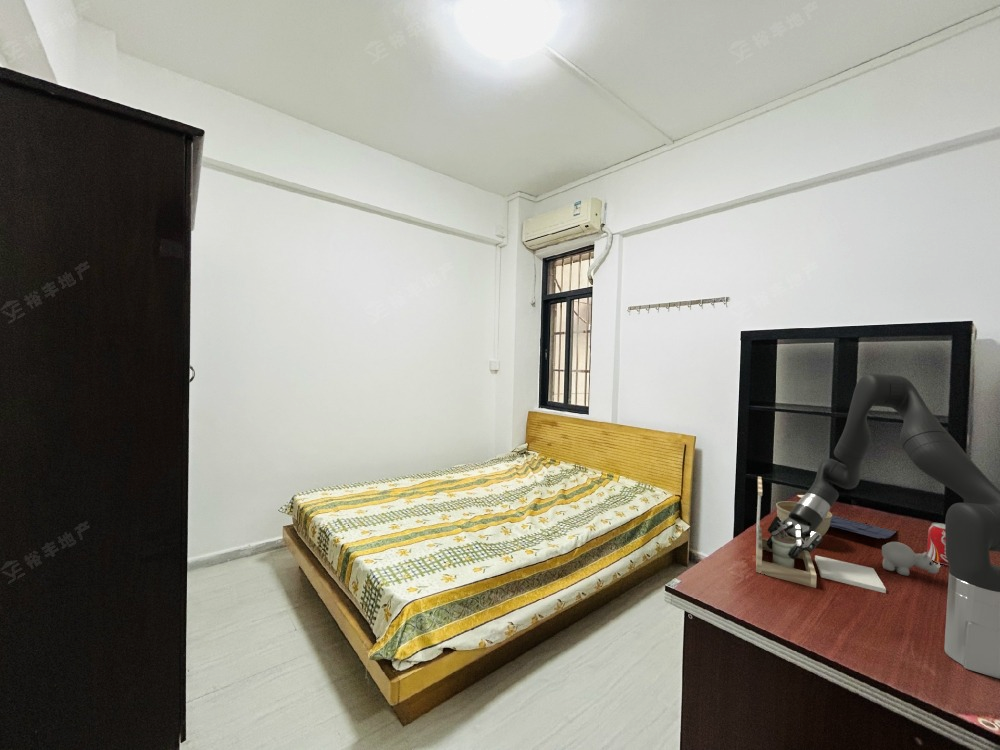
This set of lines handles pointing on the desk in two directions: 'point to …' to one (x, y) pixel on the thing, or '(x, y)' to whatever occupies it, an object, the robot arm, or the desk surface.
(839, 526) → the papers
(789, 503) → the planter bowl
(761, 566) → the cold frame
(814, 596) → the desk surface
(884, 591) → the concrete tile
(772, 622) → the desk surface
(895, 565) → the round bodied animal figurine
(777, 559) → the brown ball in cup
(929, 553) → the soda can
